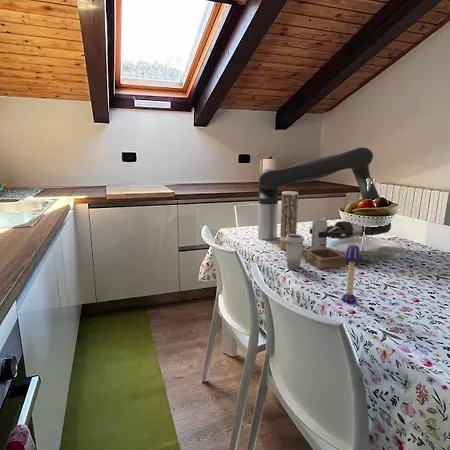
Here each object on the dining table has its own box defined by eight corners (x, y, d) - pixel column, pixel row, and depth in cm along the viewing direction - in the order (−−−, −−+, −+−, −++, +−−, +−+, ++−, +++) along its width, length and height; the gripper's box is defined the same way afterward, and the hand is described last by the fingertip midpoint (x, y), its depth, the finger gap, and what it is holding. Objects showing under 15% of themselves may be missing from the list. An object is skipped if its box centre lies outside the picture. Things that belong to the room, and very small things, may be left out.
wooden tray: (305, 260, 136) (305, 251, 135) (328, 257, 139) (329, 248, 138) (321, 270, 125) (322, 259, 125) (346, 266, 129) (347, 256, 128)
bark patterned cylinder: (295, 251, 147) (298, 193, 142) (279, 250, 149) (281, 193, 143) (295, 247, 154) (298, 191, 148) (280, 246, 155) (282, 191, 149)
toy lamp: (338, 296, 104) (342, 243, 100) (353, 296, 104) (357, 243, 100) (345, 303, 99) (349, 248, 95) (360, 303, 100) (365, 248, 96)
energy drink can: (323, 256, 141) (325, 220, 137) (309, 253, 144) (310, 219, 140) (327, 252, 146) (329, 217, 142) (313, 250, 149) (315, 216, 145)
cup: (304, 264, 131) (305, 234, 128) (302, 270, 125) (303, 239, 122) (285, 262, 134) (286, 233, 131) (282, 268, 127) (283, 237, 125)
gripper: (338, 217, 153) (305, 220, 148) (360, 224, 140) (325, 228, 134) (336, 233, 155) (304, 237, 149) (358, 242, 142) (324, 246, 136)
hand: (314, 233), depth 142 cm, fingers closed on energy drink can, 6 cm apart
